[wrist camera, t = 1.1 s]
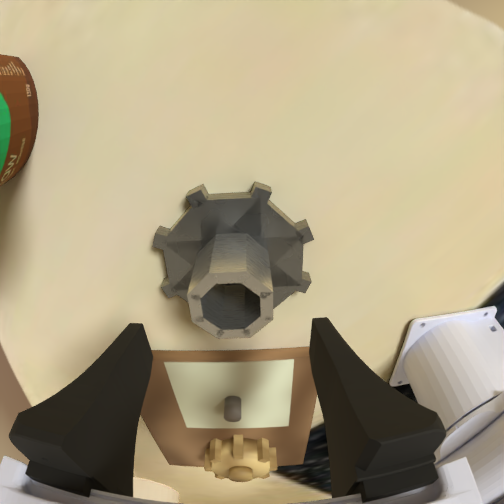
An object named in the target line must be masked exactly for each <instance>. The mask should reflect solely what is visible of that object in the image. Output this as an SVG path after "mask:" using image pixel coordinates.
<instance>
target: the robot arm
mask: <svg viewBox="0 0 504 504" xmlns="http://www.w3.org/2000/svg"><path fill="white" fill-rule="evenodd" d="M496 312H497V309H496V307H495V306H491V307H486V308H480V309H475V310H469V311H463V312H457V313H451V314H445V315H438V316H431V317H424V318H417V319H414V320H413V321H412V322H411V323H410V325H409V329H408V332H407V335H406V338H405V341H404V343H403V346H402V349H401V352H400V355H399V358H398V360H397V363H396V366H395V368H394V371H393V374H392V376H391V379H390V381H389V383H390V385H389V384H387V383H386V382H385V381H384V380H382V379H381V378H380V377H379V376H378V375H377V374H375V373H374V372H373V371H372V370H371V369H370V368H369V367H368V366H367V365H366V364H365V363H364V362H363V361H362V360H361V359H360V358H359V357H358V356H357V354H356V353H355V352H354V351H353V350H352V349H351V348H350V346H349V345H348V344H347V343H346V342H345V340H344V339H343V338H342V337H341V335H340V334H339V333H338V331H337V330H336V329H335V327H334V326H333V324H332V323H331V322H330V320H329V319H328V318H327V317H325V318H313V319H312V329H311V339H310V348H309V356H310V364H311V371H312V376H313V379H314V383H315V387H316V391H317V395H318V398H319V402H320V406H321V410H322V413H323V418H324V423H325V429H326V437H327V444H328V453H329V463H330V474H331V488H332V498H331V499H324V500H317V501H309V502H300V503H289V504H504V329H503V328H502V327H501V325H500V324H499V323H498V322H497V320H496V319H495V318H494V317H495V314H496ZM420 324H421V325H420ZM152 362H153V354H152V351H151V348H150V345H149V342H148V339H147V336H146V333H145V330H144V326H143V324H139V323H130V324H129V325H128V326H127V327H126V328H125V329H124V330H123V331H122V333H121V334H120V335H119V336H118V337H117V338H116V339H115V341H114V342H113V343H112V344H111V345H110V346H109V347H108V348H107V349H106V351H105V352H104V353H103V354H102V355H101V356H100V357H99V358H98V359H97V360H96V361H95V362H94V363H93V364H92V365H91V366H90V367H89V368H88V369H87V370H86V371H85V372H84V373H82V374H81V375H80V376H79V377H78V378H77V379H75V380H74V381H73V382H72V383H70V384H69V385H68V386H66V387H65V388H63V389H62V390H61V391H59V392H58V393H56V394H55V395H53V396H52V397H50V398H48V399H47V400H45V401H43V402H41V403H39V404H38V405H36V406H33V407H31V408H29V409H27V410H25V411H23V412H20V413H19V414H18V416H17V418H16V420H15V422H14V424H13V427H12V429H11V431H10V433H9V438H10V440H11V442H12V443H13V444H14V446H15V447H16V448H17V449H18V450H19V451H20V452H22V453H23V454H24V455H25V456H26V457H27V458H28V459H29V460H30V461H29V464H28V465H26V464H25V463H23V462H21V461H18V460H16V459H13V458H11V457H8V456H4V457H3V460H2V462H1V465H0V504H182V503H172V502H163V501H155V500H147V499H141V498H134V497H133V469H134V453H135V442H136V434H137V427H138V421H139V417H140V413H141V409H142V406H143V402H144V398H145V395H146V391H147V387H148V384H149V380H150V376H151V369H152ZM409 383H410V385H411V388H412V390H413V392H414V395H415V397H416V400H417V402H418V403H416V402H415V401H413V400H411V399H409V398H408V397H406V396H404V395H403V394H401V393H400V392H399V391H397V390H396V389H394V388H393V386H399V385H404V384H409ZM391 386H392V387H391Z"/></svg>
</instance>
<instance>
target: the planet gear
mask: <svg viewBox="0 0 504 504" xmlns="http://www.w3.org/2000/svg"><path fill="white" fill-rule="evenodd" d="M271 193H272V191H271V187H269V186H267V185H264V184H261V183H258V182H255V183H254V185H253V188H252V190H251V192H241V193H221V194H208V192H207V190H206V188H205V187H204V185H203V184H202V185H200V186H198V187H196V188H194V189H192V190H190V191H189V192H188V194H187V196H186V198H187V199H188V201H189V203H190V205H191V206H190V207H189V208H188V209H187V210H186V211H185V212H184V214H183V215H182V216H181V217H180V218H179V219H178V221H177V222H176V223H175V224H174V225H173V226H172V228H171V229H168V228H165V227H162V226H159V228H158V230H157V232H156V234H155V238H154V242H153V246H152V247H156V248H159V249H162V250H163V252H164V258H165V263H166V268H167V273H168V277H167V278H164V281H163V283H162V286H161V288H162V290H163V291H164V292H165V294H166V295H167V297H168V298H170V297H173V296H175V295H178V296H180V297H181V298H183V299H184V300H185V301H187V302H188V303H189V308H190V314H191V319H192V322H193V323H195V324H196V325H198V326H199V327H201V328H202V329H204V330H205V331H207V332H208V333H210V334H211V335H213V336H215V337H216V338H218V339H223V338H250V337H252V336H253V335H254V334H256V333H257V332H258V331H259V330H261V329H262V328H263V327H264V326H266V325H267V324H268V323H269V322H271V321H272V320H273V309H274V308H275V307H277V306H278V305H279V304H280V303H281V302H283V301H284V300H285V299H286V298H287V297H289V296H290V295H291V294H292V293H293V292H294V291H299V292H303V293H306V291H307V289H308V287H309V285H310V284H311V279H310V275H309V273H307V272H304V271H302V265H303V244H305V243H307V242H309V241H312V240H314V238H313V236H312V233H311V231H310V228H309V226H308V224H307V221H306V219H305V220H303V221H300V222H298V223H294V222H293V221H292V220H291V219H290V218H289V217H287V216H286V215H285V214H284V213H283V212H282V211H281V210H280V209H279V208H277V207H276V206H275V205H274V204H273V203H272V202H271V201H270V200H269V198H270V195H271Z"/></svg>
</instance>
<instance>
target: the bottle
mask: <svg viewBox="0 0 504 504" xmlns="http://www.w3.org/2000/svg"><path fill="white" fill-rule="evenodd" d="M133 497H134V498H141V499H147V500H155V501H163V502H172V503H179V493H178V492H177V491H176V490H175V489H173V488H171V487H169V486H166V485H164V484H161V483H158V482H155V481H151V480H147V479H143V478H138V477H133Z"/></svg>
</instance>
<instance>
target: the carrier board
mask: <svg viewBox="0 0 504 504" xmlns="http://www.w3.org/2000/svg"><path fill="white" fill-rule="evenodd" d="M309 348H310V347H297V348H281V349H262V350H233V351H160V350H151V351H152V354H153V362H152V369H151V376H150V380H149V384H148V387H147V391H146V395H145V398H144V402H143V406H142V409H141V413H140V414H141V416H142V418H143V420H144V421H145V423H146V425H147V427H148V429H149V431H150V432H151V434H152V436H153V438H154V439H155V441H156V443H157V445H158V446H159V448H160V450H161V451H162V453H163V455H164V456H165V458H166V460H167V461H168V463H169V465H180V466H196V467H204V469H205V471H213V472H214V473H215V477H216V478H219V479H224V478H229V479H230V480H232V481H236V482H246V481H250V480H252V479H254V478H258V477H259V478H263V479H264V478H267V477H269V471H273V470H277V466H285V465H297V464H303V460H304V456H305V452H306V447H307V442H308V438H309V433H310V428H311V423H312V418H313V413H314V408H315V403H316V397H317V391H316V387H315V383H314V379H313V376H312V371H311V364H310V356H309Z"/></svg>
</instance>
